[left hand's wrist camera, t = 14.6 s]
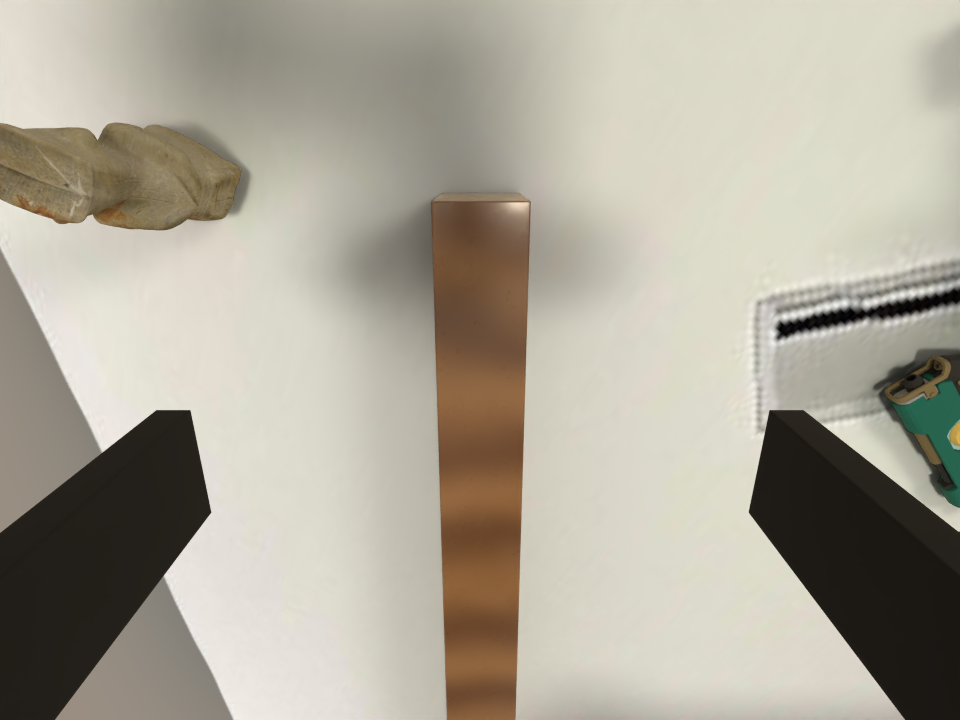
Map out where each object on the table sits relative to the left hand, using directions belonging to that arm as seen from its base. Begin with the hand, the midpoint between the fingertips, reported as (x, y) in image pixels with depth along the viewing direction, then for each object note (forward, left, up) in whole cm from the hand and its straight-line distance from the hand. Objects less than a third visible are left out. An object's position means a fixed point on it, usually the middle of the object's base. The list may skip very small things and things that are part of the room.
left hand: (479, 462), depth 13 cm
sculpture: (-10, -19, -31) cm, 37 cm away
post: (+27, -6, -31) cm, 41 cm away
